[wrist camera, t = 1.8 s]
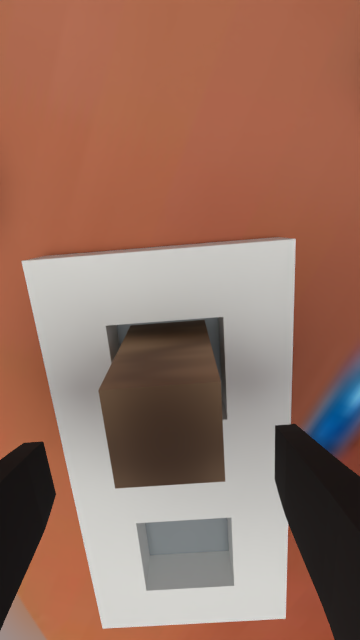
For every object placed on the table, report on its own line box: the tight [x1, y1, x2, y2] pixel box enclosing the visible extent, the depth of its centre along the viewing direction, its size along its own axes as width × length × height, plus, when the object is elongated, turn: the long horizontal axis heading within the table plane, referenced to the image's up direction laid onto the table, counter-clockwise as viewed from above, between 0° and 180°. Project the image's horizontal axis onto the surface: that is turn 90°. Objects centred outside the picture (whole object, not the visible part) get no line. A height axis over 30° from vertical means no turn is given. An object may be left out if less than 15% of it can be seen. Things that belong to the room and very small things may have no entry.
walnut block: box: [98, 320, 225, 489], centre depth 14 cm, size 4×4×7 cm
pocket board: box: [22, 237, 296, 628], centre depth 18 cm, size 12×24×2 cm, turn 4°
